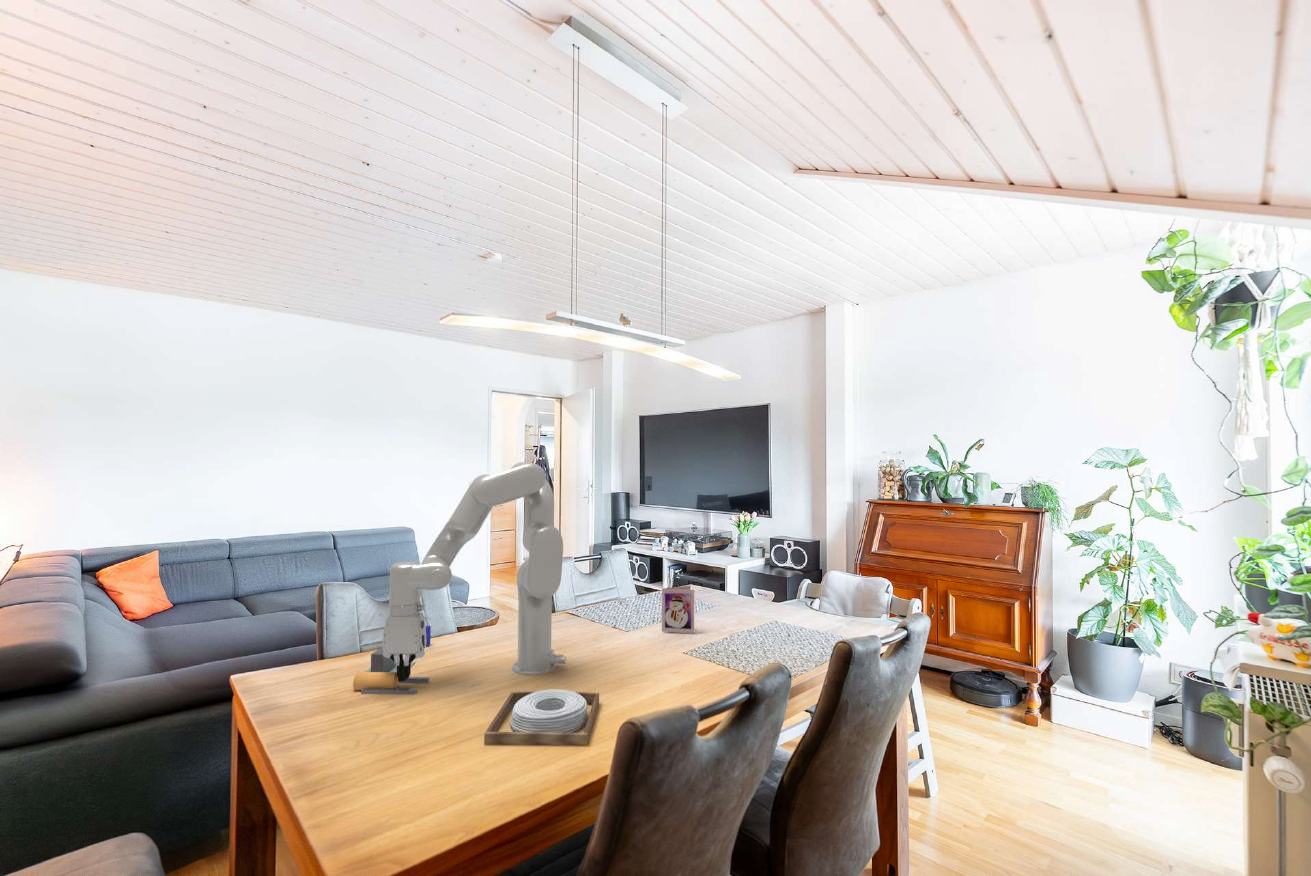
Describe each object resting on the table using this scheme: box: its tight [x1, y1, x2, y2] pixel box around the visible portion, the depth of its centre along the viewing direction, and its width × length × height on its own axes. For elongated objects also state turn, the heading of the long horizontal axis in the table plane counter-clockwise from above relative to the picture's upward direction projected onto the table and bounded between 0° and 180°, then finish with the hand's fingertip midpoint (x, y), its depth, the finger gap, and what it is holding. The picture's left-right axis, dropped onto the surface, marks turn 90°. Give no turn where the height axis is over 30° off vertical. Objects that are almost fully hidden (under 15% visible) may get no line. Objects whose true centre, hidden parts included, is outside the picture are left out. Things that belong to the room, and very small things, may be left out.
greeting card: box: [661, 585, 695, 634], centre depth 206 cm, size 11×7×15 cm, turn 80°
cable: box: [509, 688, 589, 733], centre depth 133 cm, size 18×18×6 cm
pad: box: [365, 661, 417, 672], centre depth 166 cm, size 11×11×1 cm
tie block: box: [370, 646, 396, 672], centre depth 165 cm, size 4×8×6 cm, turn 179°
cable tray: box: [483, 690, 600, 747], centre depth 132 cm, size 22×22×4 cm
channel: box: [360, 676, 431, 695], centre depth 153 cm, size 14×9×2 cm, turn 89°
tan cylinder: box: [352, 671, 400, 691], centre depth 152 cm, size 10×4×4 cm, turn 90°
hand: (403, 679), depth 153 cm, fingers closed
